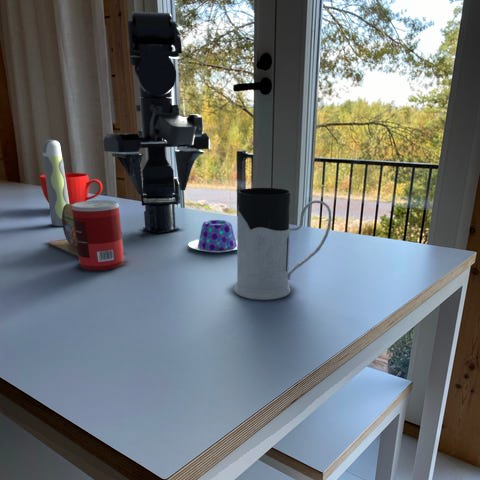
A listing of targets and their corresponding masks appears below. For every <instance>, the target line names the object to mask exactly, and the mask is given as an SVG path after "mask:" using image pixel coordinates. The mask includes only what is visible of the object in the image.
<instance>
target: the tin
mask: <svg viewBox="0 0 480 480" xmlns="http://www.w3.org/2000/svg"><path fill="white" fill-rule="evenodd" d="M72 205H73V204H66V205H65V206H64V208H63V211H62V225H63V226H62V230H63V231H62V232H63V234H64V236H65V239H67V241H68V242H69V243H70V244H71V245H73V246H76V247H77V242H76V235H75V228H74V220H73V212H72Z"/></svg>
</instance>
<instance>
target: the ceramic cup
mask: <svg viewBox="0 0 480 480" xmlns="http://www.w3.org/2000/svg"><path fill="white" fill-rule="evenodd" d="M65 178H66V184H67V191H68V198H69V204H75V203H78V202H84V201H90V200H92V199H95V198H97V197H99V195H101V193H102V191H103V184H102V182H101V180H99V179H96V178H95V179H91V180H89V174H87V173H83V172H65ZM39 181H40V182H39V183H40V187H41V191H42V193H43V197H44V198H45V200H46V202H47V203H48V204H49V200H48V192H47V185H46V178H45V174H41V175H39ZM93 183H97V184H98V185H99V188H98V191H97V192H96V193H95V194H93V195H91V196H89V189H90V185H92V184H93Z"/></svg>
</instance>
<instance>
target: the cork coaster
mask: <svg viewBox="0 0 480 480" xmlns="http://www.w3.org/2000/svg"><path fill="white" fill-rule="evenodd" d="M47 244H48V245H51V246H53V247H54V248H58V249H60V250H62V251H64V252H67V253H69V254H71V255H74V256H76V257H78V258H79V256H78V249H77V247H76V246H73V245H71V244H70V243H69V242H68V241H67V239H66V238H65V239H59V240H54V241H48V242H47Z"/></svg>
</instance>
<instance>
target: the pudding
mask: <svg viewBox="0 0 480 480" xmlns="http://www.w3.org/2000/svg"><path fill="white" fill-rule="evenodd" d="M232 224H233V223H232V222H230V221H228V220H221V219H211V220H210V219H209V220H206V221H204V222H203V223H202V225H201V229H200V234H199V238H197V239H193V240H191V241H190V242H188V247H189V248H191V249H193V250H197V251H201V252H206V253H228V252H232V251H236V250H237V238H236V236H235V233H234V232H235V231H234V227H233V225H232Z"/></svg>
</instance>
